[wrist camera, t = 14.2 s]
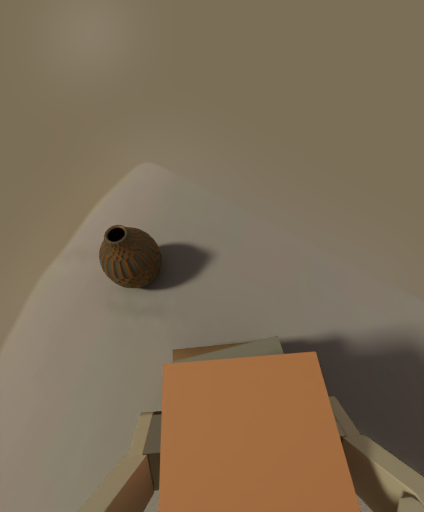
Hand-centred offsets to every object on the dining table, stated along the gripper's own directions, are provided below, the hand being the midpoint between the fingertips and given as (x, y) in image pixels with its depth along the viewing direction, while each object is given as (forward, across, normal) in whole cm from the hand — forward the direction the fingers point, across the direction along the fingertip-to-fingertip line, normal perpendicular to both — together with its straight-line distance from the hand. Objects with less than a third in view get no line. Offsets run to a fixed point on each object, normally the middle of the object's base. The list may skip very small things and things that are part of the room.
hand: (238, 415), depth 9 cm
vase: (+22, +10, 0) cm, 24 cm away
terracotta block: (+3, 0, +4) cm, 4 cm away
